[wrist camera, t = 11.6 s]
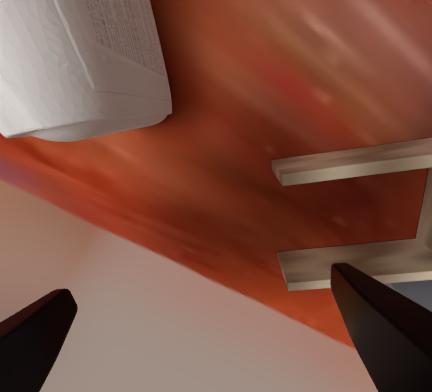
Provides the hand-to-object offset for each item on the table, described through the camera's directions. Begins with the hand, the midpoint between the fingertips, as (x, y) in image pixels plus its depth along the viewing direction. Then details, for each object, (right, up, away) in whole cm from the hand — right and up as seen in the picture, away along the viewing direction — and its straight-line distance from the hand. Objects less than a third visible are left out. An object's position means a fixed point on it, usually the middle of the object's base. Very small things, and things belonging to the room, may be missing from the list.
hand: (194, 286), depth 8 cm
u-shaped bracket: (+12, +2, +11) cm, 17 cm away
